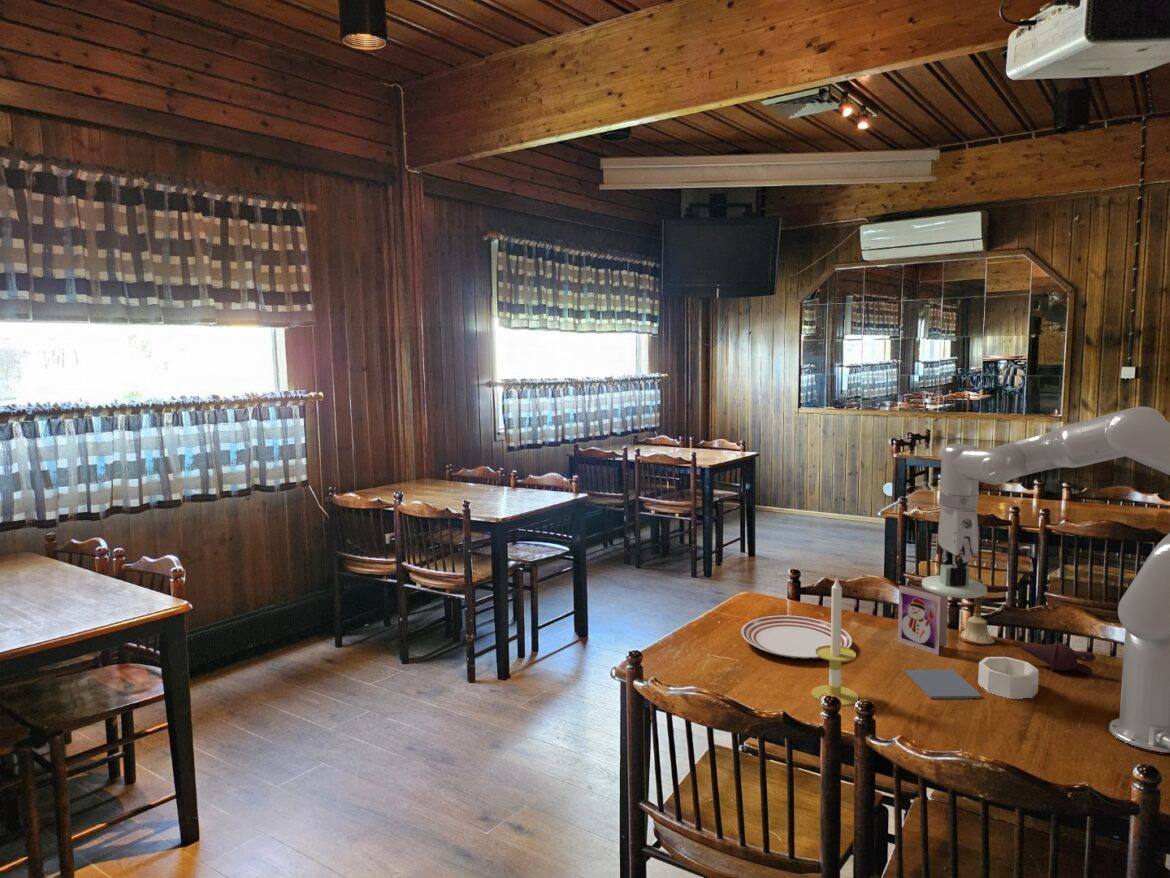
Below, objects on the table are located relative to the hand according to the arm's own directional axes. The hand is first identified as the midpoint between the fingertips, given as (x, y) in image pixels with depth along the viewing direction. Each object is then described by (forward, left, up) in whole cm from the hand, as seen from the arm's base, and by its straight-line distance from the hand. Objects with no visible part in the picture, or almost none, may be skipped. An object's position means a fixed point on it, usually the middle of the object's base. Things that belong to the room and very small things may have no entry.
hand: (953, 582), depth 173 cm
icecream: (+8, -28, -24) cm, 38 cm away
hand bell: (+27, -19, -24) cm, 41 cm away
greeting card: (+23, -4, -24) cm, 33 cm away
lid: (0, 0, -2) cm, 2 cm away
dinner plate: (+25, +28, -24) cm, 45 cm away
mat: (0, +2, -24) cm, 24 cm away
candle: (-5, +27, -24) cm, 37 cm away
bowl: (-2, -12, -24) cm, 27 cm away
